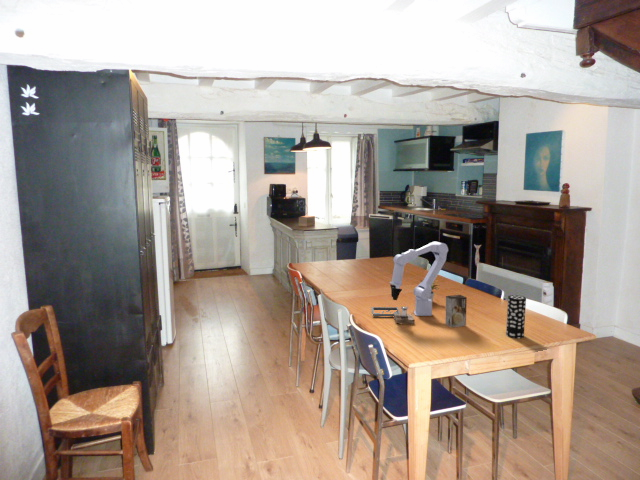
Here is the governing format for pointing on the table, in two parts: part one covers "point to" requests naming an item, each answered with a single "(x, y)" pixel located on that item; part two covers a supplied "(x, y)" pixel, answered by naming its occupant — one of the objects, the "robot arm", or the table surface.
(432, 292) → the house plant
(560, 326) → the table surface
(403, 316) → the pin
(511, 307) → the white-spotted black cylinder
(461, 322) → the coffee box
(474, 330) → the table surface
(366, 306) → the table surface
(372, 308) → the tray
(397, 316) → the pin block
